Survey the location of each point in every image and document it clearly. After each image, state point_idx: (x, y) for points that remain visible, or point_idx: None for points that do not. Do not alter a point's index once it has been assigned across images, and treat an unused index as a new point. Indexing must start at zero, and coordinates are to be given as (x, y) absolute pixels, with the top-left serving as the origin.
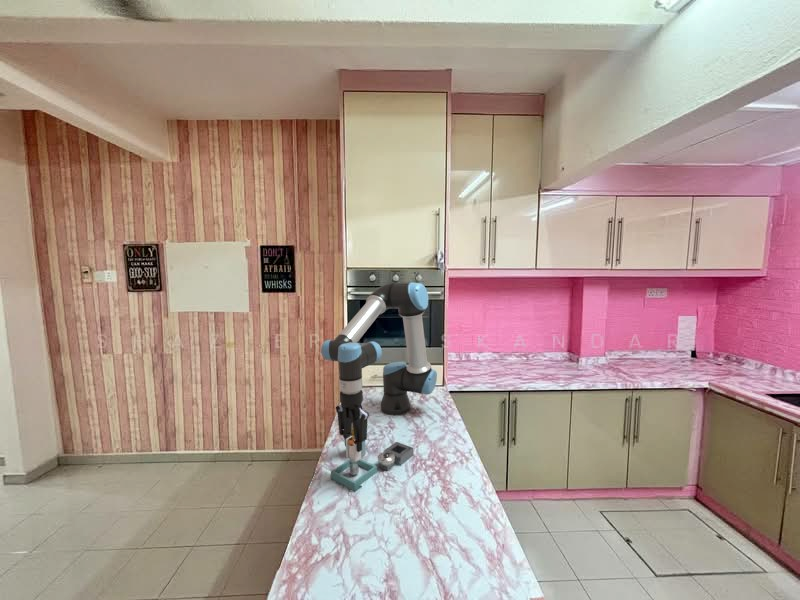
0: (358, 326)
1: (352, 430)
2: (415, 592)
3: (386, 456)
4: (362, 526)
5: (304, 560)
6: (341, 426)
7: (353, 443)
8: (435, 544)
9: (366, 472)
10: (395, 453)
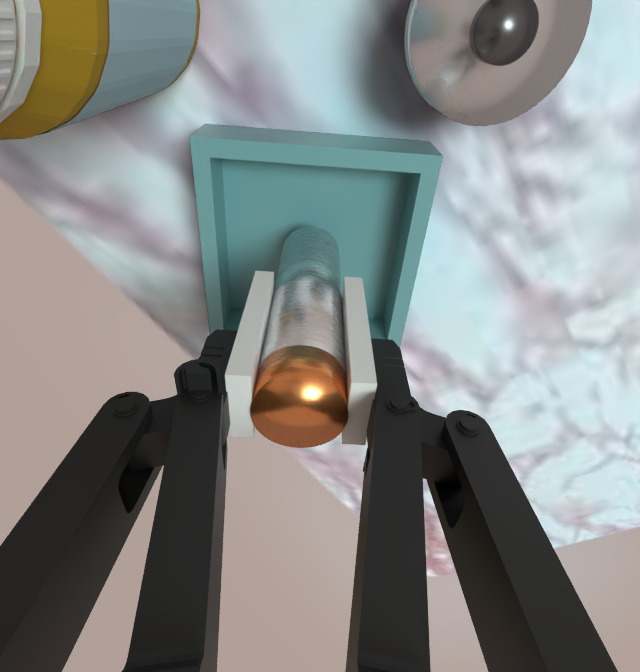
0: None
1: (6, 123)
2: None
3: (517, 59)
4: (521, 430)
5: None
6: (118, 545)
7: (342, 434)
8: None
9: (407, 252)
10: None
